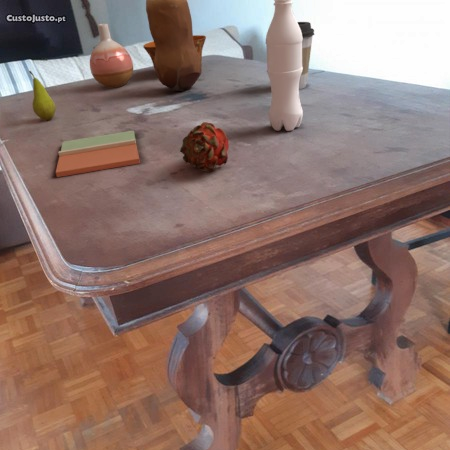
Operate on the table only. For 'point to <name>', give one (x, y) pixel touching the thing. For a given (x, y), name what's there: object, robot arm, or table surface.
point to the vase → (110, 61)
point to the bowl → (197, 41)
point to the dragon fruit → (205, 147)
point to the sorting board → (97, 153)
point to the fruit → (42, 101)
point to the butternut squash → (173, 43)
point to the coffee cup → (305, 51)
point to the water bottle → (284, 67)
